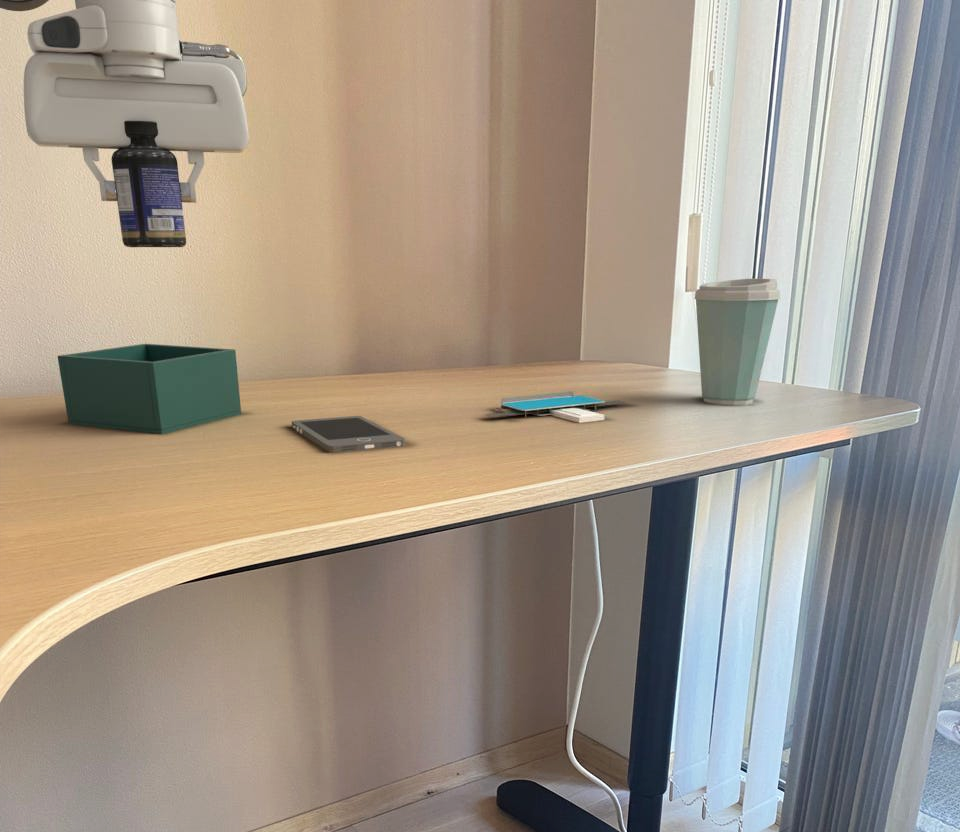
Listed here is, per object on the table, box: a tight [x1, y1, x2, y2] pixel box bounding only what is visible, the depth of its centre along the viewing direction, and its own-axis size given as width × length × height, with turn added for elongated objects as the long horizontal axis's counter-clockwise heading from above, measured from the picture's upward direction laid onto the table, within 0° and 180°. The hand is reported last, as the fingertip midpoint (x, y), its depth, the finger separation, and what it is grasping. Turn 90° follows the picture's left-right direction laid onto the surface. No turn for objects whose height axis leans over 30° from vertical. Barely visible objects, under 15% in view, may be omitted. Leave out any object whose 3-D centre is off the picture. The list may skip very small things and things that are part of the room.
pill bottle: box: [111, 121, 187, 248], centre depth 94 cm, size 6×6×11 cm
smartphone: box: [291, 415, 406, 454], centre depth 102 cm, size 15×8×1 cm, turn 25°
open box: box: [57, 343, 242, 435], centre depth 109 cm, size 14×14×8 cm
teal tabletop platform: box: [485, 390, 625, 424], centre depth 115 cm, size 20×12×2 cm, turn 121°
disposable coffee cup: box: [693, 278, 781, 406], centre depth 121 cm, size 11×11×15 cm
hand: (149, 201), depth 94 cm, fingers closed on pill bottle, 6 cm apart
